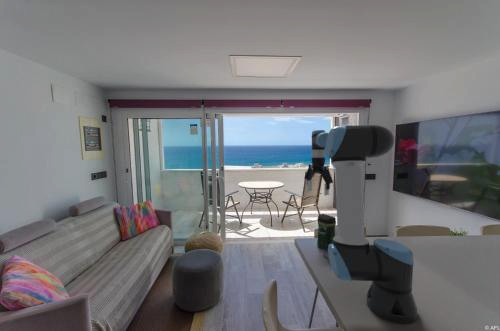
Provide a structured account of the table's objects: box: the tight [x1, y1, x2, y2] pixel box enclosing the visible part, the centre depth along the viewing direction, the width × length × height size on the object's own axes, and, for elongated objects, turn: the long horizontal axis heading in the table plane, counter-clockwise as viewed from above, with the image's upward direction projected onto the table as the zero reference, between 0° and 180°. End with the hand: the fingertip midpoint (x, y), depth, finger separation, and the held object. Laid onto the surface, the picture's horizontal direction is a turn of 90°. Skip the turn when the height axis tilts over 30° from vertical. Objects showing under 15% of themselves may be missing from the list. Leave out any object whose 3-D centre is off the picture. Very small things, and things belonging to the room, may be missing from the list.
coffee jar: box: [316, 213, 337, 251], centre depth 127 cm, size 10×8×19 cm
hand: (317, 192), depth 134 cm, fingers open, 13 cm apart
